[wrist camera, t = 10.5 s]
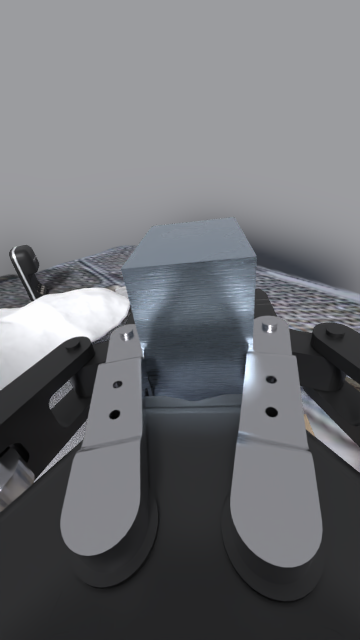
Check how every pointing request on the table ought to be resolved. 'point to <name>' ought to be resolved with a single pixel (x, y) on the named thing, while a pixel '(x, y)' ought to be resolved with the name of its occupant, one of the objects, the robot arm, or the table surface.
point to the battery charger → (27, 270)
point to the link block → (193, 306)
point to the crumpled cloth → (55, 326)
